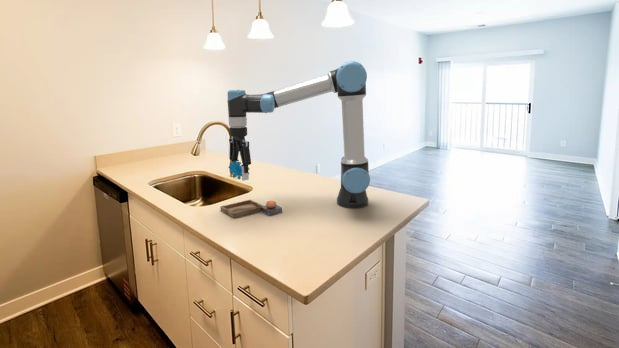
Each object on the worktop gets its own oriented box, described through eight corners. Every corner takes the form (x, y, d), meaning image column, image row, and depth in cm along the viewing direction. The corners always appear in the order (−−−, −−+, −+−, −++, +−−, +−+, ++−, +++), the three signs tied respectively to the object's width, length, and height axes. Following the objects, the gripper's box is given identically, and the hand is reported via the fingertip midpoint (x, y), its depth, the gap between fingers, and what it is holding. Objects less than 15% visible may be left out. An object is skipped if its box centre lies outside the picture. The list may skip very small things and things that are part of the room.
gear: (236, 179, 148) (226, 160, 151) (229, 186, 151) (220, 168, 154) (255, 177, 156) (246, 159, 160) (248, 184, 159) (239, 167, 163)
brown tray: (264, 210, 159) (264, 206, 159) (233, 219, 150) (233, 214, 149) (250, 203, 169) (250, 199, 168) (220, 211, 159) (220, 206, 158)
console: (282, 212, 157) (282, 207, 156) (269, 216, 152) (269, 210, 152) (273, 208, 162) (273, 203, 161) (260, 212, 158) (260, 206, 157)
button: (278, 208, 156) (278, 202, 156) (269, 210, 154) (269, 204, 153) (272, 205, 160) (272, 200, 159) (264, 208, 157) (264, 202, 156)
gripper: (258, 128, 144) (260, 181, 150) (234, 124, 160) (237, 172, 165) (242, 129, 140) (245, 184, 145) (219, 125, 155) (222, 174, 161)
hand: (240, 177), depth 155 cm, fingers closed on gear, 8 cm apart
